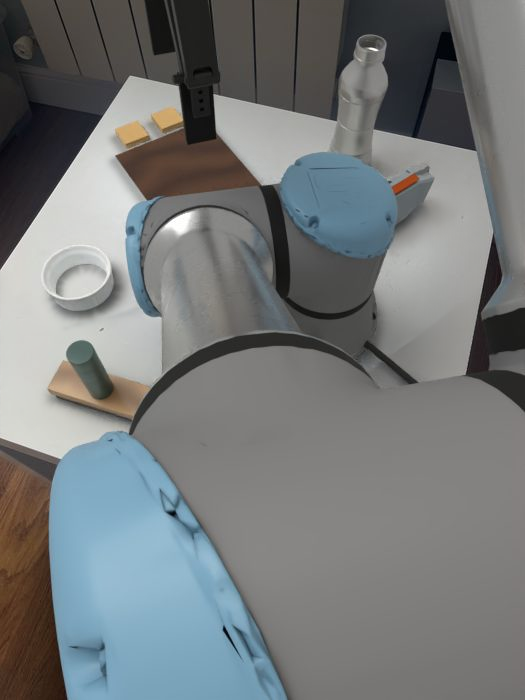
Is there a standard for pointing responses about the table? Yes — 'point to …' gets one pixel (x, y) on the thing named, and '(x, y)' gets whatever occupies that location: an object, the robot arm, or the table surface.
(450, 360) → the table surface
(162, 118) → the crumb
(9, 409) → the table surface
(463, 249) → the table surface
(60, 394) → the brush
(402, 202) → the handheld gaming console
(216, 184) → the brown wooden board
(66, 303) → the ramekin
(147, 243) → the robot arm
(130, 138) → the crumb
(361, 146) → the plastic bottle
